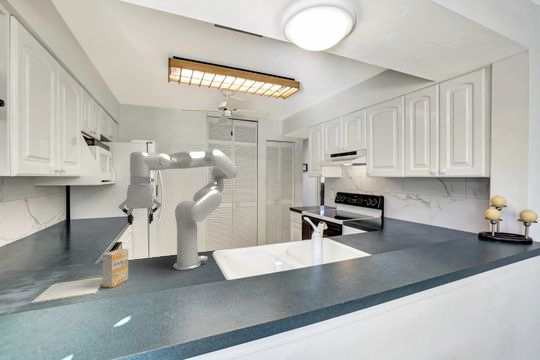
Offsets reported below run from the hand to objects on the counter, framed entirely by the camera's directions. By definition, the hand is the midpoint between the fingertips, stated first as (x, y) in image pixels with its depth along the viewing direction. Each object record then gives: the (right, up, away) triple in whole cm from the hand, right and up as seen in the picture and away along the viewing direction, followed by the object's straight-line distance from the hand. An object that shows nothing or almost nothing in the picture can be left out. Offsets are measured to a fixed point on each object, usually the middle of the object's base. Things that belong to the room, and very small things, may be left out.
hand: (140, 223), depth 100 cm
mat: (-21, -24, -9) cm, 33 cm away
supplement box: (-8, -24, -4) cm, 26 cm away
